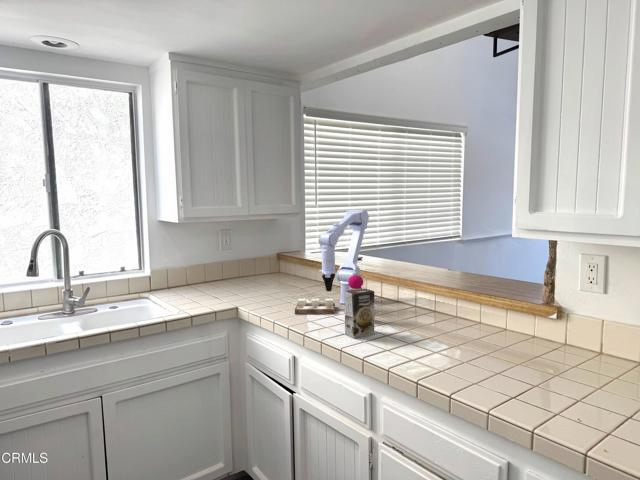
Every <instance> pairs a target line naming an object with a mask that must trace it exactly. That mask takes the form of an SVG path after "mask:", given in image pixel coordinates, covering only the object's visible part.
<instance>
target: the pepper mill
mask: <svg viewBox="0 0 640 480" xmlns="http://www.w3.org/2000/svg"><path fill="white" fill-rule="evenodd" d="M353 274H354V276H351V277H350V278H349V280H348V284H349V286H350V290H357V289H363V287H362V286H363V285H364V278H363V277H362V276H361V275H360V276H358V273H357V272H354V273H353Z"/></svg>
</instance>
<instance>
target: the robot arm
mask: <svg viewBox="0 0 640 480" xmlns="http://www.w3.org/2000/svg"><path fill="white" fill-rule="evenodd" d="M369 219H370V217H369V213H368V211H367V209H347V210H346V211H345V212H344V217H343V218H342V219H341V220H340V221H339V222H338V223H335V222H334V223H333V224H332V226H331V227H330V228H329V229H328V230H327V231H326V232H322V233H321V234H320V235H319V237H318V244H319V246H320V250H321V269H319V270H318V271H319V273H322V275H321V278H322V280H323V282H324V283H323V284H324V286H325V291H326V292H332V288H333V285H334V284H333V282H334V280H335V277H336V279H337V281H338V283H339V285H340V299H339V304H340V305H345V291H349V290H350V286H349V284H348V280H349V278H350V277H351V276H354V274H353V273H354V272H357V273H358V276H360V277H361V268H360V267H359V266H358V264H357V263H358V259H359V255H360V251H361V247H362V242H363V239H364V235H365V231H366V229H367V227H368V223H369ZM347 227H349V229H351V230H352V234H351V238H350V242H349V246H348V250H347V253H346V259H345V261H344V262H343V263H341V264H340V265H339V269H338V270H337V272H336V252H335V251H336V246H337V244H338V241H339V239H340V238H341V236H343V235H344V233H345V229H346V228H347Z"/></svg>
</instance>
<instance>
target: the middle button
mask: <svg viewBox="0 0 640 480" xmlns="http://www.w3.org/2000/svg"><path fill="white" fill-rule="evenodd" d="M311 303H312V306H319V303H320V298H311Z"/></svg>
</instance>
